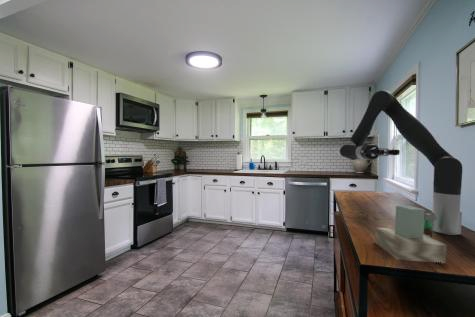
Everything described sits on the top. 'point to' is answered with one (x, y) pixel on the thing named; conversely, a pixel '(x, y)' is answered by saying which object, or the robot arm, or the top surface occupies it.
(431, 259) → the birch block
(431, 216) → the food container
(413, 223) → the sage block
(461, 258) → the top surface
